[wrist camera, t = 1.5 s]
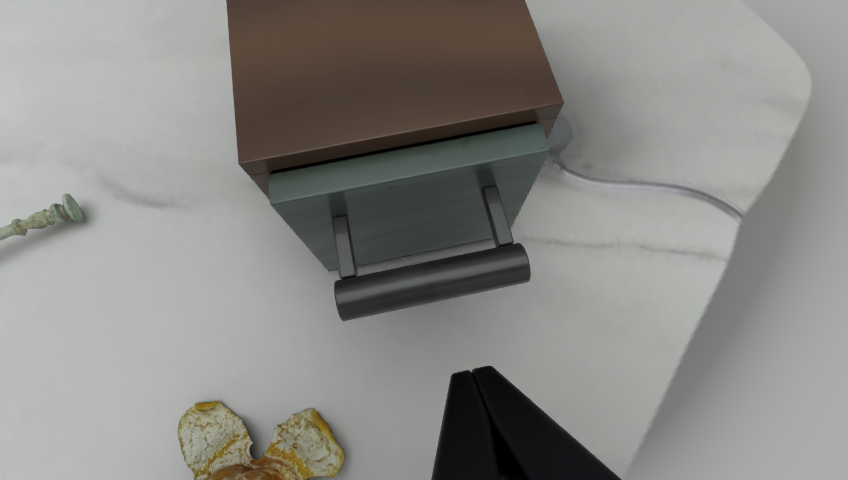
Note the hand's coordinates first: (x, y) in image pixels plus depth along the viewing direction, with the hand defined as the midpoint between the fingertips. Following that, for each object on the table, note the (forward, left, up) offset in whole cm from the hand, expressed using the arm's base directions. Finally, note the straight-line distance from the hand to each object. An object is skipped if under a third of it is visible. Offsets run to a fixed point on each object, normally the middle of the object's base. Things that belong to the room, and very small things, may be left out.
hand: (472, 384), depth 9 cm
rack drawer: (+10, -6, -13) cm, 17 cm away
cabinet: (+13, -8, -13) cm, 20 cm away
